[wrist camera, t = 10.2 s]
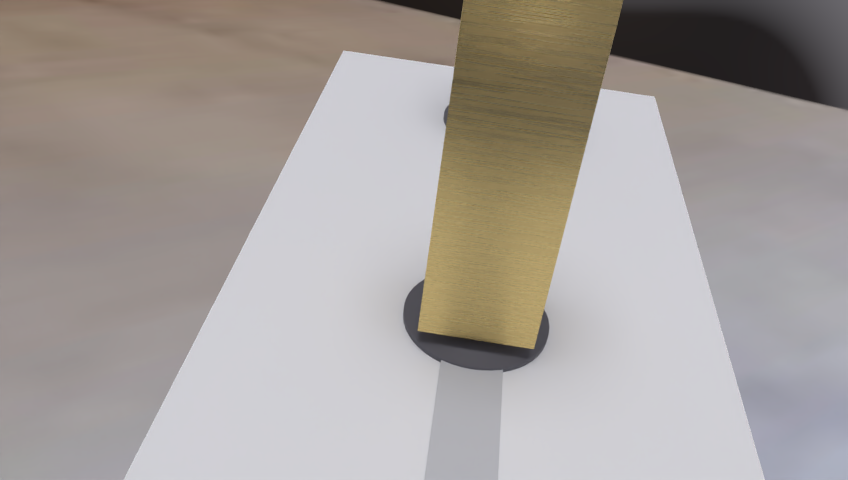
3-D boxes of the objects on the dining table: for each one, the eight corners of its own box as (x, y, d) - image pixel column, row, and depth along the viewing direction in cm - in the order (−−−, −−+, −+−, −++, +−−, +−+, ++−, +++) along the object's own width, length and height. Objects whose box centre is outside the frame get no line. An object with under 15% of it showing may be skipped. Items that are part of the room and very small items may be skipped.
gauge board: (869, 1026, 12) (921, 997, 11) (-32, 864, 13) (-58, 821, 12) (645, 126, 37) (655, 92, 36) (341, 81, 37) (343, 46, 36)
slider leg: (533, 349, 21) (635, -50, 15) (417, 331, 21) (473, -74, 15) (533, 278, 23) (621, -89, 17) (429, 262, 23) (482, -108, 17)
